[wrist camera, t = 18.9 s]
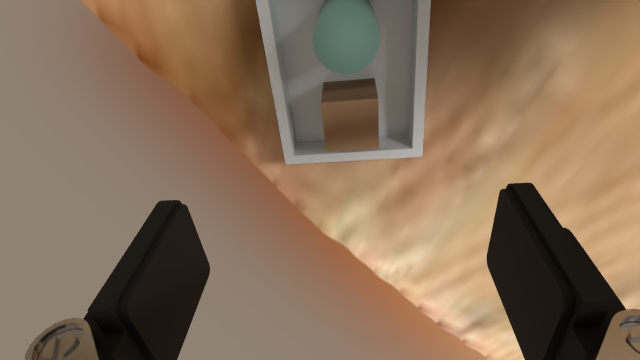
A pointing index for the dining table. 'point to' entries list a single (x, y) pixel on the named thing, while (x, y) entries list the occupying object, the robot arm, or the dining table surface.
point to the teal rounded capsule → (346, 35)
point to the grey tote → (347, 78)
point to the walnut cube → (350, 115)
